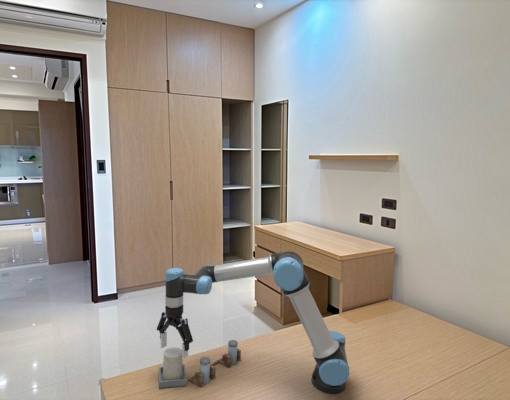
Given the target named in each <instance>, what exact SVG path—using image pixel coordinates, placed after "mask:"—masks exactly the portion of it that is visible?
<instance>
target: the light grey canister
mask: <svg viewBox="0 0 510 400" xmlns="http://www.w3.org/2000/svg"><path fill="white" fill-rule="evenodd" d="M162 360H163V361H162V363H163V365H162V367H163V381H169V380H178V379H182V365H183V361H184V359H183V358H182V348H180V347H174V346H173V347H169V348H167V349H165V350H164V351H163V359H162Z"/></svg>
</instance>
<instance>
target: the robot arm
mask: <svg viewBox="0 0 510 400" xmlns="http://www.w3.org/2000/svg"><path fill="white" fill-rule="evenodd" d="M266 275H271V276H272V277H273V280H274V283H275V285H276V286H278V288H280V290H281V291H282V294H283V295H284V296H286V297H288V298H289V299H290V301H291V302H290V303H291V304H292V306H293V307H294V311H295V312H296V314H297V316H298V318H299V321H300V323H301V326H302V327H303V329H304V331H305V333H306V336H307V337H308V340H309V341H310V344H311V346H312V348H313V349H312V352H311V353H312V357H313V358H314V360H315V363H316V365H315V366H314V368H313V371H312V372H311V384H312V385H313V386H314V388H316V389H317V390H319V391H320V392H324V393H327V394H339V393H342V392H344V391H345V390H346V387H347V380H348V379H349V377H350V365H349V363H348V358H347V353H346V342H347V341H346V337H345V335H344V334H343V333H341V332H338V331H334V330H329V329H328V326H327V323H326V321H325V319H324V317H323V316H322V314H321V312H320V310H319V308H318V305H317V303H316V301H315V299H314V297H313V295H312V293H311V291H310V288H309V287H310V285H311V281H310V279H309V278H308V275H307V274H306V271H305V269H304V261H303V258H302V257H301V256H300V254H298V253H297V252H295V251H290V250H289V251H281V252H276V253H270V255H268V256H265V257H261V258H253V259H248V260H241V261H235V262H229V263H223V264H217V265H216V264H215V265H212V264H206V265H204V266H202V267H201V268H200V269H199V270H198V271H197V272H196V273H195V274H185V272H184V269H183V268H179V267H172V268H169V269H167V270H166V271H165V280H164V281H165V296H164V297H165V302H164V304H165V310H164V311H163V312H161V315H160V316H161V317H160V319H159V322H158V324H157V327H156V330H157V331H158V332H159V339H160V349H163V348H165V347H167V344H168V343H167V341H168V340H167V336H168V335H167V330H168V328H169V327H170V326H171V327H174V328H175V329H176V330H177V332H178V333H179V335H180V338H181V339H182V344H181V346H182V348H181V349H182V358H183V360H184V359H185V358H187V357H189V350H190V344H191V343H193V342H194V339H193V336H192V335H193V334H192V332H191V330H190V326H189V319H188V318H183V314H184V294H186V293H187V294H195V295H208V294H210V293H211V291H212V287H213V284H215V283H220V282H226V281H232V280H241V279H247V278H254V277H260V276H266Z"/></svg>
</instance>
